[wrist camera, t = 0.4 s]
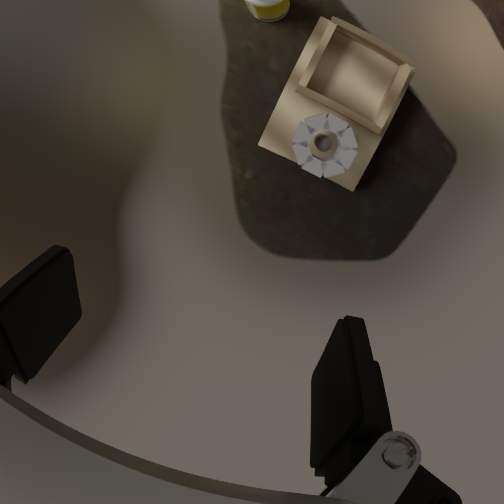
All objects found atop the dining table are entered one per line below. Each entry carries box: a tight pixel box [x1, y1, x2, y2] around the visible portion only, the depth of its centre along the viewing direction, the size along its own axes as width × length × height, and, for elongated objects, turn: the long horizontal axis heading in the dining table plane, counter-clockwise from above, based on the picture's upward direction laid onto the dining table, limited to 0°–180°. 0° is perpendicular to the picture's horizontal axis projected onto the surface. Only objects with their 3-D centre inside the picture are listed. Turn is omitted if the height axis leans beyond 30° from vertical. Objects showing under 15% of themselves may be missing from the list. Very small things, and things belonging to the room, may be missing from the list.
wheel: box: [292, 113, 358, 178], centre depth 28 cm, size 6×6×2 cm
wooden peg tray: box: [258, 16, 416, 192], centre depth 28 cm, size 17×12×6 cm
